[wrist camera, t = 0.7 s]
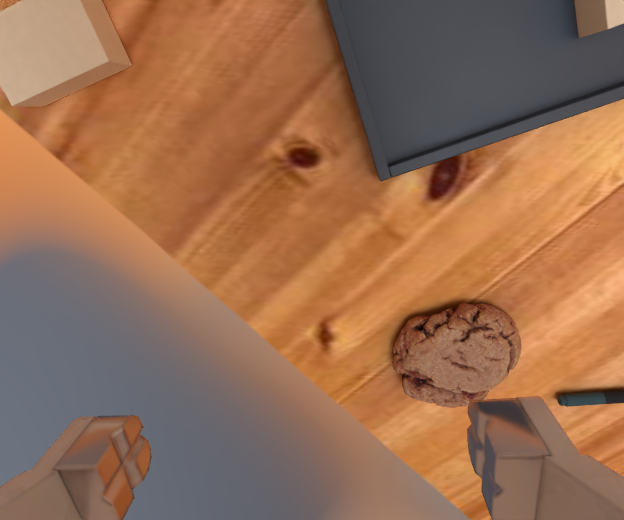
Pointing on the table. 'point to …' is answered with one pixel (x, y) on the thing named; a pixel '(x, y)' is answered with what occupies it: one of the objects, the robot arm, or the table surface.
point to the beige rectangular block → (56, 49)
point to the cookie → (456, 354)
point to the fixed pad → (598, 15)
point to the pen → (591, 398)
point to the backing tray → (468, 72)
